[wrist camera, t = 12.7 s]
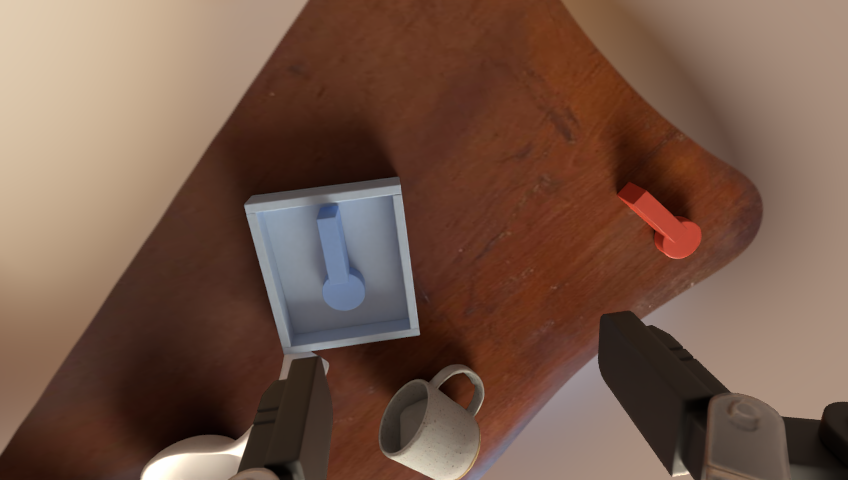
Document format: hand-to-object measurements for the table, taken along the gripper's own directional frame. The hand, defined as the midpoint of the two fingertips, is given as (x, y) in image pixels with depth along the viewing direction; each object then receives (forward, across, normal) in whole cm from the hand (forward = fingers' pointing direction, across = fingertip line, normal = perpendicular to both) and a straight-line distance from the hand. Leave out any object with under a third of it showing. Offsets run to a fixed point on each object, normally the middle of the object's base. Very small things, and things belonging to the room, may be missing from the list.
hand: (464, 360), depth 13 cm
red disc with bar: (+28, -23, +9) cm, 37 cm away
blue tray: (+28, +7, +9) cm, 30 cm away
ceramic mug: (+28, 0, +26) cm, 38 cm away
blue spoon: (+28, +7, +8) cm, 30 cm away
